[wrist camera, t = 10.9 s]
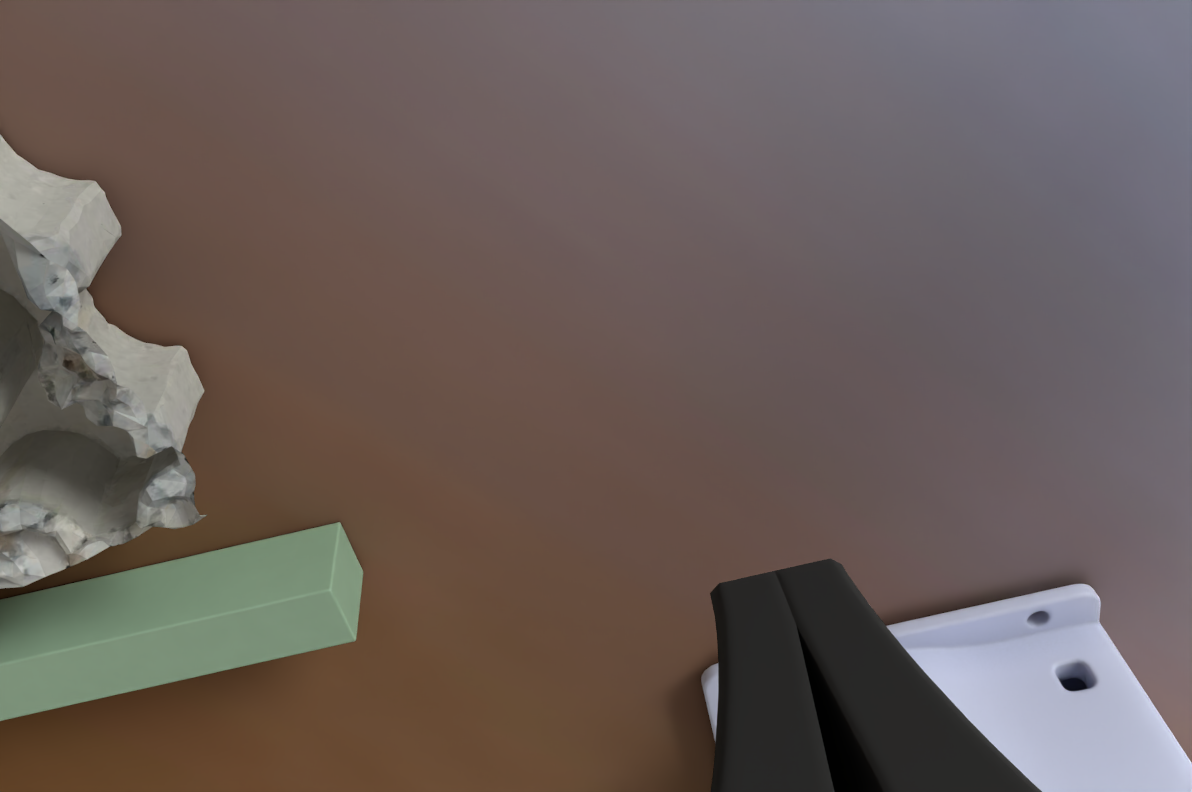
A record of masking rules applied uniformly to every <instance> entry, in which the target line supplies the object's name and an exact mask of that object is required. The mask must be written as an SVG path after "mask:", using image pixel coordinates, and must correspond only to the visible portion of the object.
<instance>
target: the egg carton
mask: <svg viewBox="0 0 1192 792" xmlns="http://www.w3.org/2000/svg"><path fill="white" fill-rule="evenodd" d="M121 235H122V234H121V226H120V224H119V222H118V220H117V218H116V216H115V214H114V212H113V211H112V209H111V207H110V205H109V203H108V201H107V198H106V196H105V192H104V191H103V190H102V189H101V188H100V186H99V185H98V184H97V182H96V181H91V180H73V179H68V178H63V177H60V176H58V175H55V174H52V173H50V172H46V171H42V170H38V169H37V168H36V167H34V166H33V165H32V164H30V163H29V162H27V161H26V160H24V159H23V158H22V157H20V156H18V155H17V154H16V153H15V152H14V151H13V149H12V148H11V147H10V146H9V145H8V144H7V142H6V141H5V140H4V139H3V138H2V136H1V135H0V588H14V587H24V586H26V585H28V584H30V583H33V582H35V581H37V580H39V579H42V578H44V577H46V576H49V575H51V574H54V573H56V572H59V571H61V570H64V569H66V568H69V567H71V566H73V565H75V564H78V563H80V562H82V561H85V560H87V559H89V558H91V557H92V556H94V555H96V554H98V553H99V552H101V551H103V550H105V549H106V548H108V547H110V546H115V545H119V544H124V543H126V542H128V541H130V540H132V539H134V538H136V537H138V536H139V535H141V534H142V533H144V532H145V531H147V530H148V529H150V528H151V527H167V528H172V529H177V528H182V527H186V526H189V525H192V524H195V523H196V522H198V521H199V520H201V519H202V518H204V517H205V516H207V515H199V513H198V511H197V510H196V508H195V502H194V489H195V484H196V483H195V474H194V472H193V470H192V468H191V467H190V465H189V463H188V461H187V459H186V458H185V456H184V454H183V453H181V451H182V448H183V445H184V441H185V438H186V435H187V430H188V427H189V424H190V423H191V421H192V419H193V417H194V414H195V411H196V407H197V404H198V402H199V400H200V398H201V396H202V395H203V393H204V389H203V386H202V384H201V382H200V379H199V377H198V375H197V373H196V372H195V370H194V368H193V366H192V365H191V362H190V359H189V355H188V352H187V350H186V349H185V348H183V347H182V346H179V345H176V346H169V347H163V346H160V345H157V344H151V343H143V342H141V341H139V340H137V339H134V338H133V337H131V336H129V335H127V334H125V333H124V332H123V331H121V330H120V329H119V328H117V327H116V326H115V325H112V324H108V323H107V321H106V320H105V318H104V317H103V316H102V315H101V314H100V313H99V311H98V310H97V309H96V308H95V307H94V303H93V298H92V296H91V295H90V293H89V292H88V291H87V289H86V288H87V287H89V286H90V284H91V282H92V280H93V278H94V276H95V275H96V273H97V271H98V269H99V268H100V266H101V264H102V263H103V261H104V260H105V258H106V256H107V255H108V253H109V251H110V250H111V249H112V247H113V246H114V244H115V243H116V242H117V240H118V239H119V238H120V236H121Z"/></svg>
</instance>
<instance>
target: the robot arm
mask: <svg viewBox="0 0 1192 792" xmlns="http://www.w3.org/2000/svg"><path fill="white" fill-rule="evenodd" d="M710 595H711V600H712V604H713V609H714V614H715V621H716V630H717V641H718V663H717V664H714V665H711V666H710V667H709V668H707V669H706V670H705V671H704V673H703V674H702V677H701V683H702V687H703V691H704V696H705V700H706V704H707V709H708V713H709V717H710V722H711V726H712V730H713V735H714V739H715V758H714V769H713V777H712V785H711V792H1192V763H1191V761H1190V760H1189V758H1188V757H1187V755H1186V754H1185V752H1184V751H1183V749H1182V748H1181V746H1180V745H1179V743H1178V741H1177V740H1176V738H1175V737H1174V735H1173V734H1172V732H1171V731H1170V729H1169V728H1168V726H1167V725H1166V723H1165V722H1164V720H1163V719H1162V717H1161V716H1160V714H1159V712H1158V711H1157V709H1156V708H1155V706H1154V705H1153V703H1152V702H1151V700H1150V699H1149V697H1148V696H1147V694H1146V693H1145V691H1144V690H1143V688H1142V687H1141V685H1140V683H1139V682H1138V680H1137V679H1136V677H1135V676H1134V674H1133V673H1132V671H1131V670H1130V668H1129V667H1128V665H1127V664H1126V662H1125V661H1124V659H1123V657H1122V656H1121V654H1120V653H1119V651H1118V650H1117V648H1116V647H1115V645H1114V644H1113V642H1112V641H1111V639H1110V638H1109V636H1108V635H1107V633H1106V632H1105V630H1104V628H1103V627H1102V625H1101V624H1100V623H1099V616H1100V605H1101V603H1100V598H1099V597H1098V595H1097V594H1096V592H1095V591H1094V589H1093V588H1092V587H1091V586H1089V585H1086V584H1072V585H1068V586H1063V587H1059V588H1054V589H1050V590H1045V591H1041V592H1036V593H1032V594H1027V595H1023V596H1018V597H1014V598H1009V599H1005V600H1000V601H996V602H991V603H986V604H982V605H977V606H973V607H968V608H964V609H959V610H955V611H950V612H946V613H941V614H937V615H932V616H928V617H923V618H919V619H914V620H910V621H905V622H901V623H896V624H892V625H887V626H886V625H885V624H884V623H883V622H882V620H881V619H880V618H879V617H878V615H877V614H876V613H875V611H874V610H873V609H872V608H871V606H870V605H869V604H868V602H867V601H866V600H865V598H864V597H863V596H862V594H861V593H860V591H859V590H858V588H857V587H856V586H855V584H854V583H853V581H852V580H851V578H850V577H849V575H848V574H847V572H846V571H845V569H844V568H843V566H842V565H841V564H840V563H838V562H836V561H834V560H832V559H831V558H830V559H826V560H822V561H817V562H813V563H808V564H804V565H799V566H795V567H790V568H786V569H781V570H777V571H772V572H768V573H763V574H759V575H755V576H750V577H746V578H741V579H737V580H732V581H728V582H723V583H719V584H718V585H717V586H716V587H715V588H714V590H713V591H712V592H711V593H710Z"/></svg>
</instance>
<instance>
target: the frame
mask: <svg viewBox="0 0 1192 792" xmlns="http://www.w3.org/2000/svg"><path fill="white" fill-rule="evenodd" d="M362 579H363V570H362V568H361V566H360V564H359V562H358V559H357V557H356V555H355V553H354V551H353V549H352V547H351V544H350V542H349V540H348V538H347V536H346V534H345V531H344V529H343V527H342V525H341V523H340V522H338V523H333V524H329V525H325V526H320V527H316V528H312V529H307V530H303V531H298V532H294V533H290V534H285V535H281V536H277V537H272V538H268V539H264V540H259V541H255V542H250V543H246V544H242V545H237V546H233V547H229V548H224V549H220V550H215V551H211V552H207V553H202V554H198V555H194V556H189V557H185V558H181V559H176V560H172V561H167V562H163V563H159V564H154V565H150V566H146V567H141V568H137V569H132V570H128V571H124V572H119V573H115V574H111V575H106V576H102V577H97V578H93V579H89V580H84V581H80V582H76V583H71V584H67V585H63V586H58V587H54V588H49V589H45V590H41V591H36V592H32V593H28V594H23V595H19V596H14V597H10V598H6V599H1V600H0V721H2V720H6V719H11V718H15V717H20V716H24V715H29V714H33V713H38V712H42V711H47V710H51V709H55V708H60V707H64V706H69V705H73V704H78V703H82V702H87V701H91V700H95V699H100V698H104V697H109V696H113V695H118V694H122V693H127V692H131V691H136V690H140V689H144V688H149V687H153V686H158V685H162V684H167V683H171V682H176V681H180V680H184V679H189V678H193V677H198V676H202V675H207V674H211V673H216V672H220V671H224V670H229V669H233V668H238V667H242V666H247V665H251V664H256V663H260V662H265V661H269V660H273V659H278V658H282V657H287V656H291V655H296V654H300V653H305V652H309V651H313V650H318V649H322V648H327V647H331V646H336V645H340V644H345V643H349V642H354V641H356V635H357V626H358V617H359V607H360V598H361V589H362Z"/></svg>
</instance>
